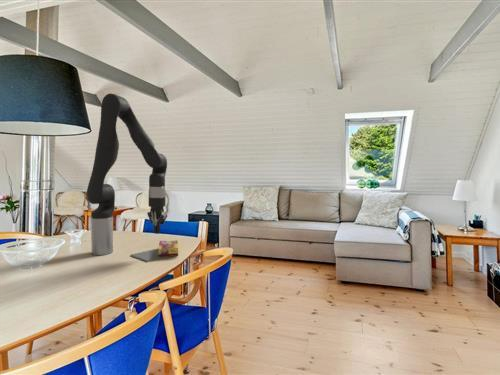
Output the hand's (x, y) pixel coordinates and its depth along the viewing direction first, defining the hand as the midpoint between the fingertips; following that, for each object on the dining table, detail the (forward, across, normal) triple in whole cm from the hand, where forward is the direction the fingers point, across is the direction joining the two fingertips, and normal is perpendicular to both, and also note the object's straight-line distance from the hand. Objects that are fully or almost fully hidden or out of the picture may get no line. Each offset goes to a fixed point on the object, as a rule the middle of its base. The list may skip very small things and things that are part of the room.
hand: (157, 233), depth 133 cm
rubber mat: (+11, -2, 0) cm, 11 cm away
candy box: (+8, +7, +1) cm, 11 cm away
